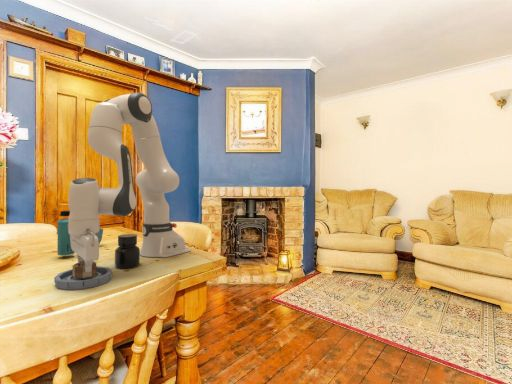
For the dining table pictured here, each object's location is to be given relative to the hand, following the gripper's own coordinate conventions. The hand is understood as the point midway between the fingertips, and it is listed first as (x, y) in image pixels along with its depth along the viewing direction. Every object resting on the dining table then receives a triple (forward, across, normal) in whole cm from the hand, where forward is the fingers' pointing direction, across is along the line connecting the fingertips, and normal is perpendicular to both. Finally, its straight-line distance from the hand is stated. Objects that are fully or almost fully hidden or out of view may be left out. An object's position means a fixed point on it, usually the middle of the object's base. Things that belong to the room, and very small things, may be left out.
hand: (84, 268), depth 97 cm
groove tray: (+4, 0, 0) cm, 4 cm away
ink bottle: (+4, +8, -17) cm, 20 cm away
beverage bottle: (+4, +38, -2) cm, 38 cm away
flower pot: (+4, +52, -15) cm, 55 cm away
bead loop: (+2, 0, 0) cm, 2 cm away
